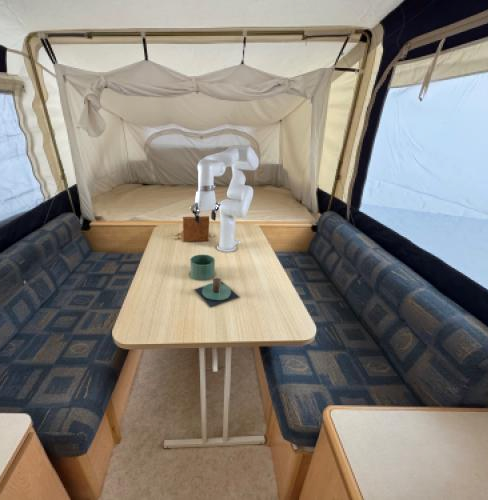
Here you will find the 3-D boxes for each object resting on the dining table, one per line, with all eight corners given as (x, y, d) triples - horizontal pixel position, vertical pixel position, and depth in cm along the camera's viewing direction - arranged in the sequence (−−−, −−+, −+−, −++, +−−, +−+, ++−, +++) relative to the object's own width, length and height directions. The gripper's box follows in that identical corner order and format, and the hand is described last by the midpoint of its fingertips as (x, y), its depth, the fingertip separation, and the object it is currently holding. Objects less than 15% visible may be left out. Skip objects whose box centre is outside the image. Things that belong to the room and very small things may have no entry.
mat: (221, 282, 134) (221, 281, 134) (238, 297, 122) (238, 296, 122) (194, 290, 127) (194, 289, 127) (210, 306, 115) (210, 306, 115)
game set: (212, 231, 198) (212, 206, 190) (217, 243, 179) (218, 215, 170) (174, 232, 195) (173, 207, 187) (175, 244, 175) (174, 217, 167)
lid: (220, 282, 133) (221, 270, 130) (236, 296, 122) (237, 283, 119) (196, 289, 127) (196, 276, 124) (211, 304, 116) (211, 291, 113)
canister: (206, 266, 149) (207, 252, 145) (218, 276, 139) (219, 262, 135) (186, 271, 143) (186, 257, 139) (197, 282, 133) (197, 267, 130)
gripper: (216, 185, 138) (215, 216, 146) (186, 188, 131) (187, 221, 138) (224, 188, 133) (223, 220, 140) (193, 191, 125) (194, 225, 132)
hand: (205, 221), depth 139 cm, fingers open, 9 cm apart
